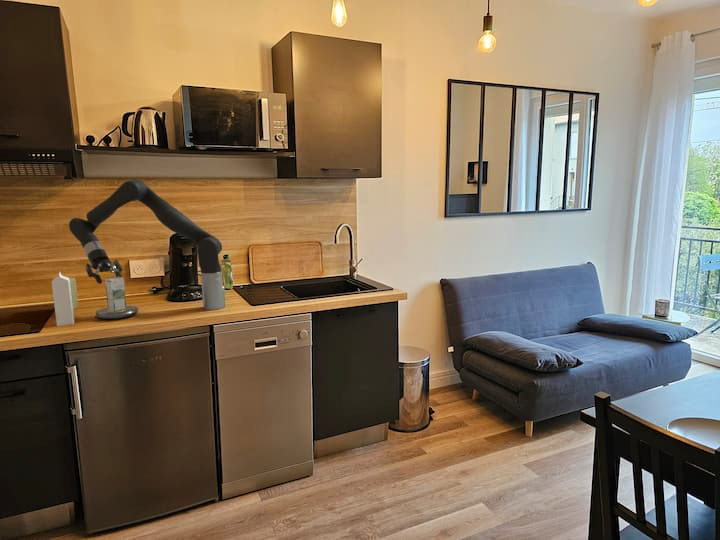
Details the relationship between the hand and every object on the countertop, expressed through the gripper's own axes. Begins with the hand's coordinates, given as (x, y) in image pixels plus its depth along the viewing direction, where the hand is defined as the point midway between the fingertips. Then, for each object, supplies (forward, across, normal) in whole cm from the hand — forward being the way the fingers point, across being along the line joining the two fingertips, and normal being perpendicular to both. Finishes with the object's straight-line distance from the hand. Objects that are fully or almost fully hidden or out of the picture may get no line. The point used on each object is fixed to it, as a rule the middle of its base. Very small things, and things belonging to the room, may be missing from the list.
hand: (110, 281), depth 216 cm
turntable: (+12, 0, +8) cm, 15 cm away
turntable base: (+13, 0, +9) cm, 16 cm away
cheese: (-4, -11, +27) cm, 30 cm away
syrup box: (+11, 0, +7) cm, 13 cm away
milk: (+9, -19, +13) cm, 25 cm away
